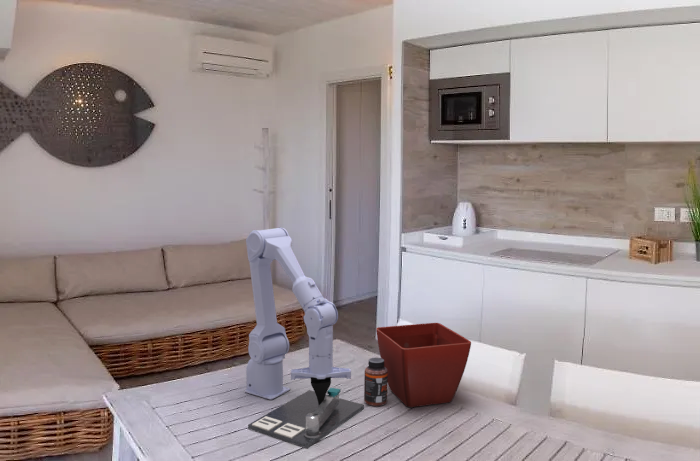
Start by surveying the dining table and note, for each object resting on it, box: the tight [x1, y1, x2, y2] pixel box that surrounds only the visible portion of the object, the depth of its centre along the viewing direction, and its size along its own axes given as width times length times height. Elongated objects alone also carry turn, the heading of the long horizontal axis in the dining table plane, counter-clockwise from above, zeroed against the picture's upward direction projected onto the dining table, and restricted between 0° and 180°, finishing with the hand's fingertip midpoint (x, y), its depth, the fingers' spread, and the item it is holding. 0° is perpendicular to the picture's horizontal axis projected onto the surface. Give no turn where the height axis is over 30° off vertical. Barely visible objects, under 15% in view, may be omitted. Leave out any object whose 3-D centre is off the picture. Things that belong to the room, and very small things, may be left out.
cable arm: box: [313, 387, 342, 428], centre depth 140 cm, size 14×3×4 cm, turn 162°
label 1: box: [252, 416, 283, 431], centre depth 137 cm, size 5×5×1 cm
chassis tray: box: [247, 389, 365, 449], centre depth 142 cm, size 17×24×1 cm
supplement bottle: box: [363, 357, 388, 407], centre depth 151 cm, size 6×6×11 cm
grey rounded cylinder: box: [304, 413, 321, 439], centre depth 132 cm, size 4×4×4 cm
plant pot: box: [375, 322, 472, 408], centre depth 155 cm, size 19×19×17 cm
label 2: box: [274, 423, 305, 438], centre depth 134 cm, size 5×5×1 cm
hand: (320, 406), depth 144 cm, fingers closed
